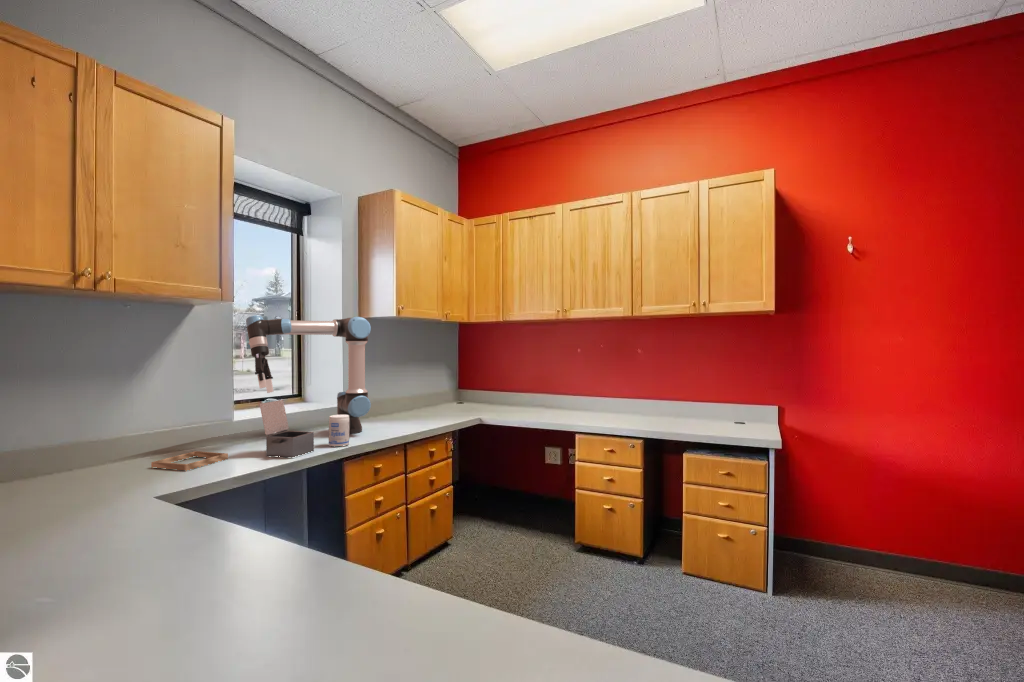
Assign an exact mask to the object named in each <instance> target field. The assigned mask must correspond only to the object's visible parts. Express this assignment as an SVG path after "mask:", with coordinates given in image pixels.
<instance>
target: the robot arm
mask: <svg viewBox="0 0 1024 682" xmlns="http://www.w3.org/2000/svg"><path fill="white" fill-rule="evenodd" d="M245 324H246V331H247V335H248V336H247V337H248V341H249V342H248V343H247V344H248V345H249V347H250V354H251V357H253V358H254V368H255V370H254V374H255V375H257V382H258V386H259V389H264V388H265V389H266V393H267V394H270V393H274V387H273V381H272V379H274V377H273V376H272V373H271V369H270V365H269V362H268V361H269V360H268V358H267V357H266V356H268V355H269V354H270V351H269V346H268V345H269V344H268V339H267V336H273V335H274V336H275V335H276V336H277V335H297V336H298V335H301V336H302V335H306V336H308V335H311V336H312V335H314V336H315V335H316V336H319V335H320V336H322V335H323V336H325V335H328V336H333V337H339V338H345V343H346V344H347V345H348V346H347V347H348V351H347V352H348V353H347V354H348V355H347V356H348V364H347V365H348V369H347V370H348V374H347V376H348V380H347V381H348V385H347V386H348V389H347V390H346V391H340V392H339V391H338V392H337V395H336V399H337V400H336V404H337V405H336V408H337V409H336V410H337V411H336V412H337V413H336V415H349V435H353V434H357V433H362V432H363V425H362V423H361V420H360V418H361V417H364V416H366V415H367V414H369V412H370V410H371V406H372V403H371V400H370V399H369V395H368V394H369V391H368V389H367V388H366V371H365V370H366V350H365V349H366V344H367V343H368V341H369V335H370V334H371V329H372V327H371V324H370V322H369V320H367V319H366V318H364V317H362V316H353V317H347V318H340V319H337V318H336V319H333V320H295V319H294V320H292V319H289V318H276V319H274V318H273V319H264V318H263V316H262V315H257V314H256V315H251V316H248V317H247V318H246V319H245Z"/></svg>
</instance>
